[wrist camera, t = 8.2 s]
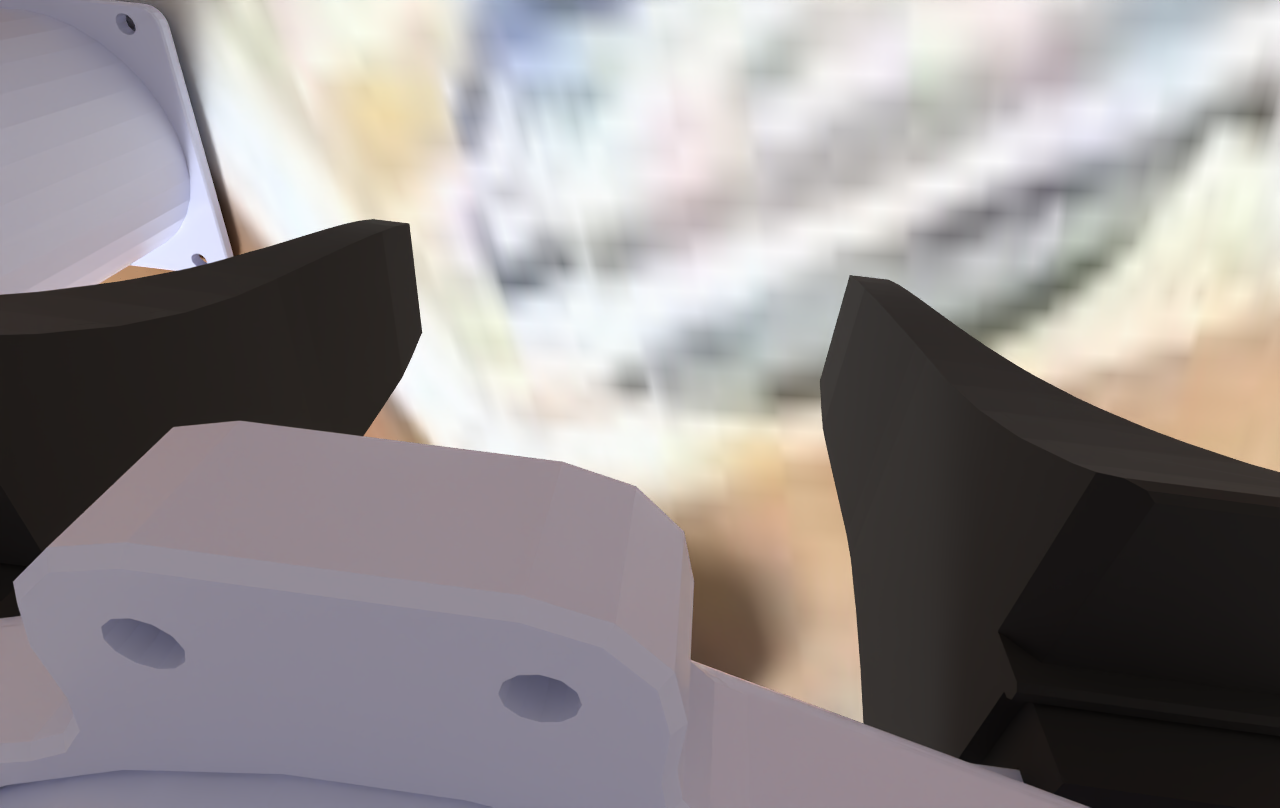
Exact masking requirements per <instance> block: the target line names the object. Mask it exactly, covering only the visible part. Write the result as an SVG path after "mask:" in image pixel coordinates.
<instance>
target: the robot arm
mask: <svg viewBox="0 0 1280 808" xmlns="http://www.w3.org/2000/svg"><path fill="white" fill-rule="evenodd" d="M126 15H128V16H129V17H130V18H131V19H132V20H133V22H134V24H135V29H136V31H133V30H132V29H131V28H130V27H129V26H128V24H127V22H126ZM199 254H200V255H202V256H203V257H205V259H206V260H207V263H206V262H204V261H203V260H202V259H201V258H200V256H199ZM129 265H134V266H142V267H150V268H158V269H167V270H175V271H173V272H169V273H163V274H158V275H153V276H147V277H142V278H137V279H131V280H125V281H119V282H112V283H104V284H99V283H101V282H102V281H104V280H106V279H107V278H109V277H111V276H112V275H114V274H116V273H117V272H119V271H120V270H122V269H124V268H125V267H127V266H129ZM421 334H422V327H421V319H420V310H419V302H418V293H417V285H416V276H415V268H414V259H413V251H412V242H411V234H410V225H409V223H400V222H392V221H383V220H375V219H371V220H362V221H356V222H352V223H347V224H343V225H340V226H336V227H332V228H329V229H325V230H322V231H319V232H315V233H312V234H309V235H305V236H302V237H299V238H296V239H292V240H289V241H286V242H283V243H279V244H276V245H273V246H270V247H266V248H263V249H259V250H255V251H252V252H248V253H245V254H241V255H237V256H233V252H232V249H231V245H230V241H229V238H228V234H227V231H226V227H225V224H224V220H223V216H222V213H221V209H220V206H219V202H218V199H217V195H216V191H215V188H214V184H213V181H212V177H211V174H210V170H209V166H208V163H207V159H206V156H205V152H204V149H203V145H202V141H201V138H200V134H199V131H198V127H197V124H196V120H195V116H194V113H193V109H192V106H191V102H190V99H189V95H188V91H187V88H186V84H185V81H184V77H183V73H182V70H181V66H180V63H179V59H178V56H177V52H176V48H175V45H174V41H173V38H172V34H171V31H170V27H169V25H168V22H167V20H166V18H165V17H164V16H163V14H162V13H161V12H160V11H159V10H158V9H156V8H155V7H154V6H151V5H148V4H143V3H133V2H124V1H115V0H0V808H1280V472H1277V471H1273V470H1269V469H1266V468H1262V467H1258V466H1255V465H1251V464H1248V463H1245V462H1242V461H1239V460H1236V459H1233V458H1230V457H1227V456H1224V455H1221V454H1218V453H1215V452H1212V451H1209V450H1206V449H1203V448H1200V447H1197V446H1194V445H1191V444H1188V443H1185V442H1182V441H1180V440H1177V439H1174V438H1171V437H1169V436H1166V435H1163V434H1161V433H1158V432H1155V431H1153V430H1150V429H1147V428H1145V427H1143V426H1140V425H1138V424H1135V423H1133V422H1131V421H1128V420H1126V419H1124V418H1121V417H1119V416H1116V415H1114V414H1112V413H1109V412H1107V411H1105V410H1102V409H1100V408H1098V407H1096V406H1093V405H1091V404H1089V403H1087V402H1085V401H1083V400H1080V399H1078V398H1076V397H1074V396H1072V395H1070V394H1068V393H1067V392H1065V391H1063V390H1061V389H1059V388H1057V387H1055V386H1053V385H1051V384H1049V383H1047V382H1045V381H1043V380H1042V379H1040V378H1038V377H1036V376H1034V375H1032V374H1031V373H1029V372H1027V371H1025V370H1024V369H1022V368H1020V367H1018V366H1017V365H1015V364H1013V363H1012V362H1010V361H1009V360H1007V359H1006V358H1004V357H1002V356H1001V355H999V354H998V353H996V352H994V351H993V350H991V349H990V348H988V347H987V346H985V345H984V344H982V343H981V342H979V341H978V340H976V339H975V338H973V337H972V336H970V335H969V334H967V333H966V332H965V331H963V330H962V329H960V328H959V327H957V326H956V325H955V324H953V323H952V322H951V321H949V320H948V319H946V318H945V317H944V316H942V315H941V314H940V313H938V312H937V311H935V310H934V309H933V308H931V307H930V306H929V305H927V304H926V303H924V302H923V301H922V300H920V299H919V298H918V297H916V296H915V295H913V294H912V293H910V292H909V291H907V290H906V289H904V288H903V287H901V286H900V285H898V284H896V283H894V282H892V281H890V280H886V279H878V278H869V277H861V276H852V275H850V276H849V280H848V284H847V287H846V291H845V294H844V298H843V301H842V305H841V308H840V312H839V316H838V319H837V323H836V326H835V330H834V333H833V337H832V340H831V344H830V347H829V351H828V355H827V358H826V362H825V365H824V369H823V372H822V376H821V379H820V390H821V410H822V423H823V431H824V436H825V441H826V446H827V450H828V455H829V459H830V464H831V468H832V473H833V477H834V481H835V486H836V490H837V494H838V499H839V503H840V507H841V512H842V516H843V521H844V525H845V529H846V534H847V539H848V545H849V551H850V556H851V565H852V575H853V585H854V595H855V604H856V615H857V628H858V641H859V654H860V667H861V685H862V704H863V722H864V724H863V723H860V722H858V721H855V720H852V719H850V718H847V717H844V716H841V715H839V714H836V713H833V712H831V711H828V710H825V709H822V708H820V707H817V706H814V705H812V704H809V703H806V702H804V701H801V700H798V699H795V698H793V697H790V696H787V695H785V694H782V693H779V692H776V691H774V690H771V689H768V688H766V687H763V686H760V685H758V684H755V683H752V682H749V681H747V680H744V679H741V678H739V677H736V676H733V675H730V674H728V673H725V672H722V671H720V670H717V669H714V668H712V667H709V666H706V665H703V664H701V663H698V662H695V661H693V660H691V640H692V618H693V596H694V578H693V573H692V568H691V563H690V558H689V553H688V548H687V543H686V538H685V533H684V531H683V530H682V529H681V528H680V527H679V526H678V525H676V524H675V523H674V522H673V521H672V520H671V519H670V518H669V517H668V516H667V515H666V514H665V513H664V512H663V511H662V510H661V509H660V508H658V507H657V506H656V505H655V504H654V503H653V502H652V501H651V500H650V499H649V498H648V497H647V496H646V495H645V494H644V493H643V492H642V491H640V490H639V489H638V488H637V487H636V486H633V485H630V484H627V483H624V482H621V481H618V480H615V479H612V478H609V477H606V476H603V475H600V474H597V473H594V472H591V471H588V470H586V469H583V468H580V467H577V466H574V465H571V464H568V463H565V462H560V461H552V460H544V459H536V458H528V457H521V456H513V455H505V454H497V453H489V452H481V451H474V450H466V449H458V448H450V447H442V446H434V445H426V444H419V443H411V442H403V441H395V440H387V439H379V438H372V437H364V434H365V433H366V431H367V430H368V428H369V427H370V425H371V424H372V422H373V421H374V419H375V418H376V417H377V415H378V414H379V412H380V411H381V409H382V408H383V406H384V405H385V403H386V401H387V400H388V398H389V397H390V395H391V394H392V392H393V391H394V389H395V388H396V386H397V385H398V383H399V381H400V380H401V378H402V377H403V375H404V372H405V370H406V368H407V366H408V364H409V362H410V360H411V358H412V355H413V353H414V350H415V348H416V346H417V343H418V341H419V338H420V336H421Z"/></svg>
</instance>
